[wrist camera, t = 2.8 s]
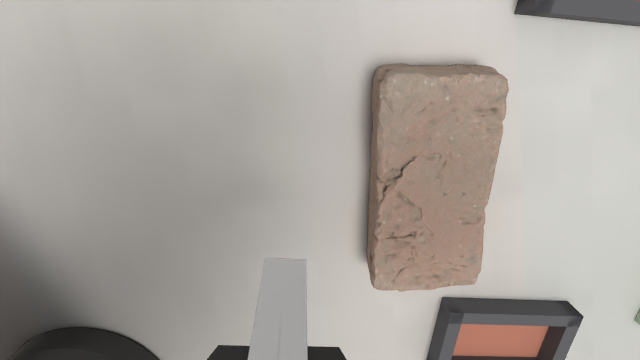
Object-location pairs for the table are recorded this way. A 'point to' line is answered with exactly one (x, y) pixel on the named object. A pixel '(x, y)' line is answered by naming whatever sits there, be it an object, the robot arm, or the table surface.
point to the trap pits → (522, 315)
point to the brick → (431, 172)
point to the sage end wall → (638, 317)
